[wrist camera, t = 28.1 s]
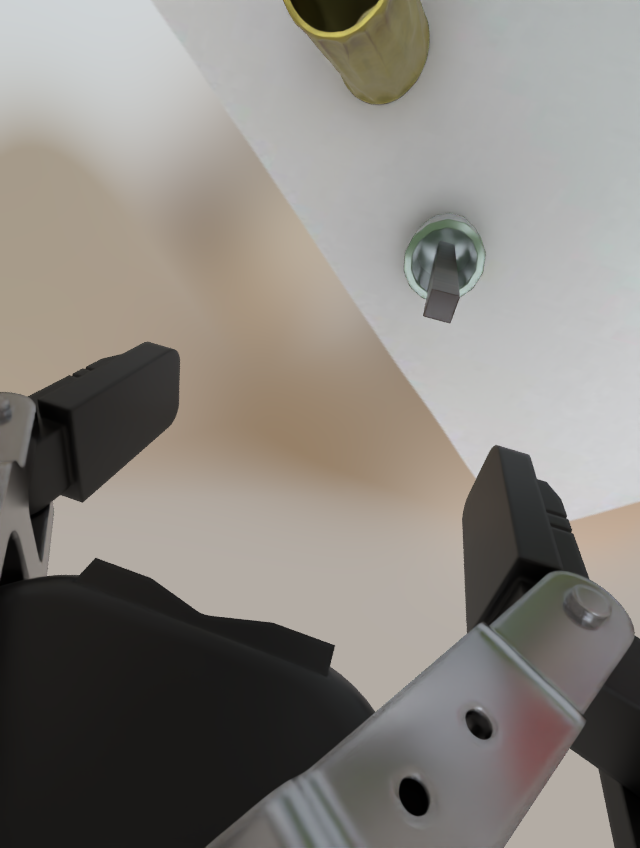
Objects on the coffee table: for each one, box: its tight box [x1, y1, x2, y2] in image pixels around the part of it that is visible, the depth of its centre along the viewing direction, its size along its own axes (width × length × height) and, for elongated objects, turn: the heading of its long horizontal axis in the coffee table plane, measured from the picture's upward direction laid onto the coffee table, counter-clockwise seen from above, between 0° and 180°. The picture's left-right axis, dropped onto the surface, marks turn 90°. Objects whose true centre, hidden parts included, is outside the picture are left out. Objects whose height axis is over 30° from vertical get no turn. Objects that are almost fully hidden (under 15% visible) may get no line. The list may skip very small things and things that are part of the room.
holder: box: [404, 213, 486, 299], centre depth 31 cm, size 5×5×7 cm
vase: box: [283, 0, 429, 104], centre depth 23 cm, size 6×6×14 cm
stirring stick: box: [423, 241, 460, 323], centre depth 26 cm, size 1×1×18 cm
